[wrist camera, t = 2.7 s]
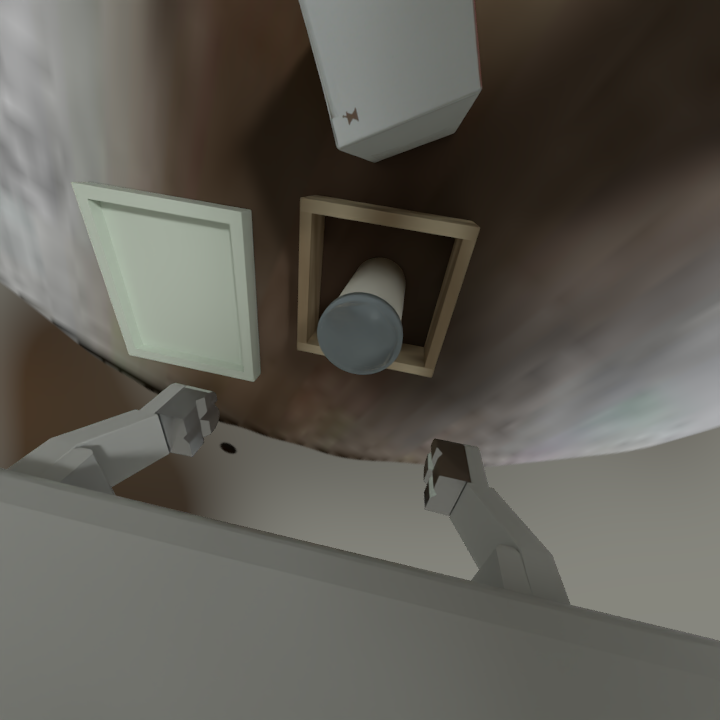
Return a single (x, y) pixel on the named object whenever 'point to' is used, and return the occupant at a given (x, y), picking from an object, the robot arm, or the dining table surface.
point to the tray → (177, 277)
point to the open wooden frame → (460, 229)
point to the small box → (394, 70)
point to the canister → (365, 319)
